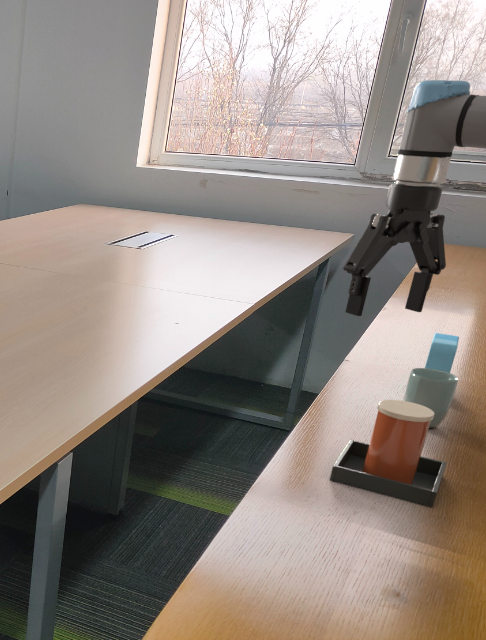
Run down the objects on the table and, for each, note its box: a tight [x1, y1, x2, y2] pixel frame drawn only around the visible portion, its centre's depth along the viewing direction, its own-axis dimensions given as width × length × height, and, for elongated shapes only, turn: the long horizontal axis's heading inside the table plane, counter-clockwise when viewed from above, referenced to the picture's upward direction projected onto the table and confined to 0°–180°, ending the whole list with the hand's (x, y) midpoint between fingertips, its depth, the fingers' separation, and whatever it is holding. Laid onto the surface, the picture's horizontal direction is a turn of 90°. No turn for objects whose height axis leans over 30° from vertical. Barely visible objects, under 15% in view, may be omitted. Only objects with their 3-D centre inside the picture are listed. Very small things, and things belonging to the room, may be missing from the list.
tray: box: [329, 439, 448, 508], centre depth 128 cm, size 14×14×3 cm
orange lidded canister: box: [362, 399, 434, 485], centre depth 126 cm, size 8×8×12 cm
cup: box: [402, 367, 459, 429], centre depth 152 cm, size 8×8×10 cm
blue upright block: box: [424, 332, 460, 373], centre depth 169 cm, size 12×4×12 cm, turn 146°
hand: (383, 312), depth 137 cm, fingers open, 13 cm apart
